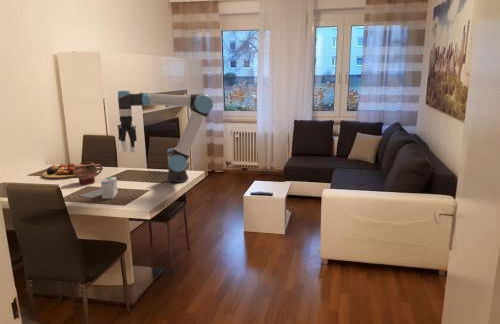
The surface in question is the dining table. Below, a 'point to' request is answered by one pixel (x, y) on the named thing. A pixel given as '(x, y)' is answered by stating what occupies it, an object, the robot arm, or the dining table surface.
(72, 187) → the dining table surface
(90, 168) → the brown rounded vessel
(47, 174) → the wooden plate with food
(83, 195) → the mat
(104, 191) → the light bulb box
